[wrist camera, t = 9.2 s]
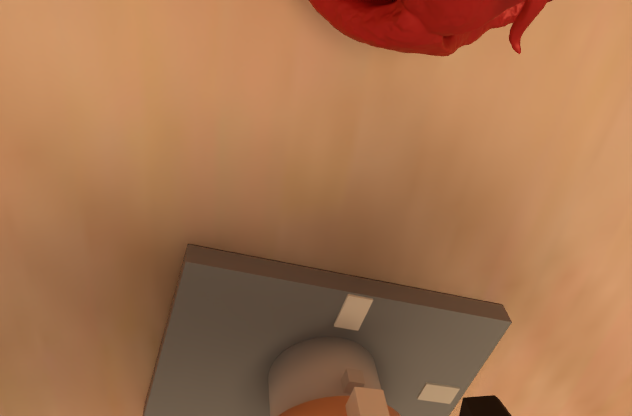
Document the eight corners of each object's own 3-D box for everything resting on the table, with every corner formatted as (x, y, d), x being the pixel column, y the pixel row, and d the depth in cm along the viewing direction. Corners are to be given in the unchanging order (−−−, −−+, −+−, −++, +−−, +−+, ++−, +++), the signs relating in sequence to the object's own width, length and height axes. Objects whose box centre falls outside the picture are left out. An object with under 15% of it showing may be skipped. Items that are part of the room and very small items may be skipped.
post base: (144, 406, 26) (129, 495, 22) (188, 244, 21) (178, 324, 18) (415, 439, 29) (438, 520, 26) (502, 304, 24) (543, 381, 21)
